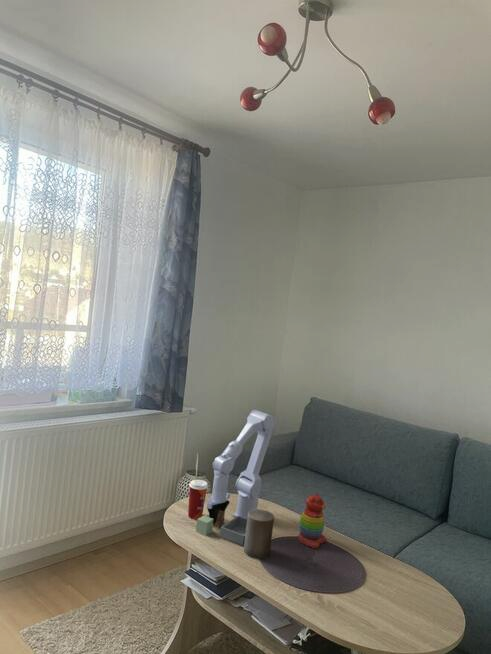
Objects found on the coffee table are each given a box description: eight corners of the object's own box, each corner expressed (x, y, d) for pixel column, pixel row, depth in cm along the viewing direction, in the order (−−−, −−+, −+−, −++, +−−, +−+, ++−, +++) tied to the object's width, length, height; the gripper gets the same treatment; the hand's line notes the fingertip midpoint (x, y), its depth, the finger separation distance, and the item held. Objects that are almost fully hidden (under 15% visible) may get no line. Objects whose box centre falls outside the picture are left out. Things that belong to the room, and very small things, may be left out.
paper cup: (203, 521, 192) (207, 487, 192) (184, 519, 193) (188, 484, 192) (205, 513, 200) (209, 480, 200) (187, 510, 200) (191, 477, 200)
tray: (237, 525, 193) (238, 515, 193) (259, 533, 188) (260, 523, 188) (219, 537, 181) (220, 527, 181) (242, 546, 176) (243, 536, 176)
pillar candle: (275, 555, 173) (280, 514, 173) (254, 561, 167) (259, 519, 167) (258, 543, 181) (262, 503, 180) (237, 548, 175) (242, 508, 174)
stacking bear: (316, 550, 180) (322, 504, 179) (292, 540, 186) (298, 495, 185) (328, 540, 189) (333, 496, 188) (305, 531, 195) (310, 488, 194)
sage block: (202, 527, 187) (203, 515, 187) (212, 531, 185) (213, 518, 185) (195, 531, 183) (197, 519, 183) (205, 535, 181) (207, 522, 181)
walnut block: (213, 520, 195) (215, 508, 194) (223, 523, 193) (224, 511, 192) (207, 524, 191) (209, 511, 191) (217, 527, 189) (219, 515, 188)
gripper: (221, 479, 199) (217, 511, 200) (201, 489, 187) (197, 523, 187) (235, 484, 196) (231, 516, 197) (217, 494, 183) (212, 529, 184)
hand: (216, 520), depth 192 cm, fingers closed on walnut block, 4 cm apart
